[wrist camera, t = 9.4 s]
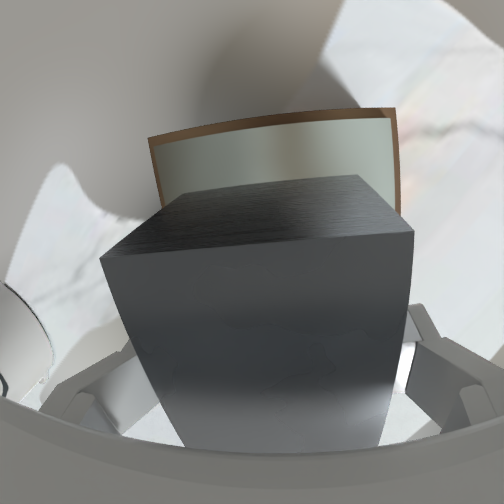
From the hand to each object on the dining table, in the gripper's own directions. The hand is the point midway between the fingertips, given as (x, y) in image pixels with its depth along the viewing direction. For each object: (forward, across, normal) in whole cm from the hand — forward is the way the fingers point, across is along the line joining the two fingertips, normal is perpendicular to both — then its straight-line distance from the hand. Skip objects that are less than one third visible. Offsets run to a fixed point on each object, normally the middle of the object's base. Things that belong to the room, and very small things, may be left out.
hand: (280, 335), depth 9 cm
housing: (+2, 0, 0) cm, 2 cm away
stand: (+15, 0, 0) cm, 15 cm away
